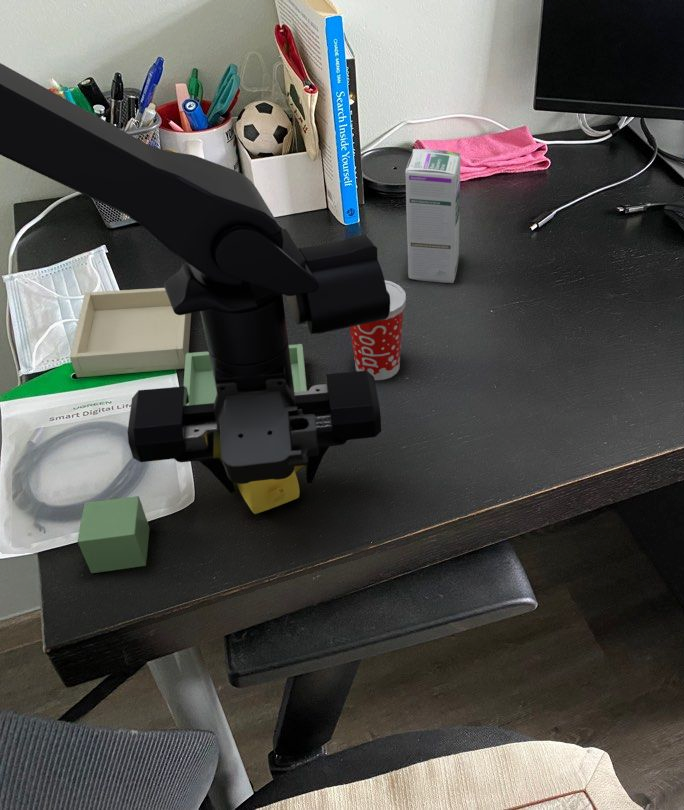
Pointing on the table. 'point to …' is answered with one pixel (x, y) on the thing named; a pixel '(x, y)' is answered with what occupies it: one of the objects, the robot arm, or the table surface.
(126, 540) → the green cube
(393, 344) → the beverage cup
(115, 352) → the cream tray
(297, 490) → the yellow linking cube
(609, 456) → the table surface
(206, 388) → the green tray
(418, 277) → the syrup box
